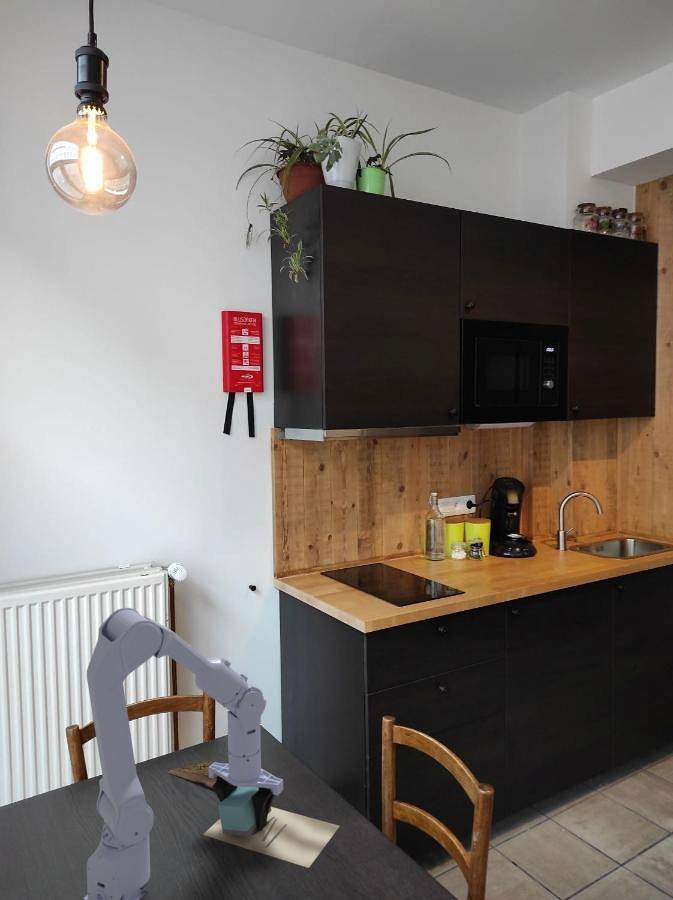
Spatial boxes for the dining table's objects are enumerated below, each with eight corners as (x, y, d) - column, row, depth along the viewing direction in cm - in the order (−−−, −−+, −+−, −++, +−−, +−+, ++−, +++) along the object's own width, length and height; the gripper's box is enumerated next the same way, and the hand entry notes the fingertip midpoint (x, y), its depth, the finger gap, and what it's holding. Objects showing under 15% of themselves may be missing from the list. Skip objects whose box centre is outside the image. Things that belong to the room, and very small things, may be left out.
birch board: (308, 876, 109) (308, 867, 109) (203, 842, 118) (203, 834, 118) (339, 834, 120) (339, 825, 120) (241, 805, 129) (240, 798, 128)
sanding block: (247, 836, 115) (242, 807, 115) (222, 833, 117) (218, 805, 117) (271, 810, 122) (266, 783, 122) (247, 808, 124) (243, 782, 124)
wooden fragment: (293, 775, 140) (293, 770, 140) (272, 804, 129) (272, 799, 129) (184, 757, 148) (184, 753, 148) (157, 784, 137) (156, 779, 137)
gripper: (291, 747, 119) (292, 820, 120) (223, 731, 126) (225, 801, 126) (270, 766, 113) (272, 843, 114) (200, 748, 119) (202, 822, 120)
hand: (246, 822), depth 120 cm, fingers closed on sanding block, 6 cm apart
